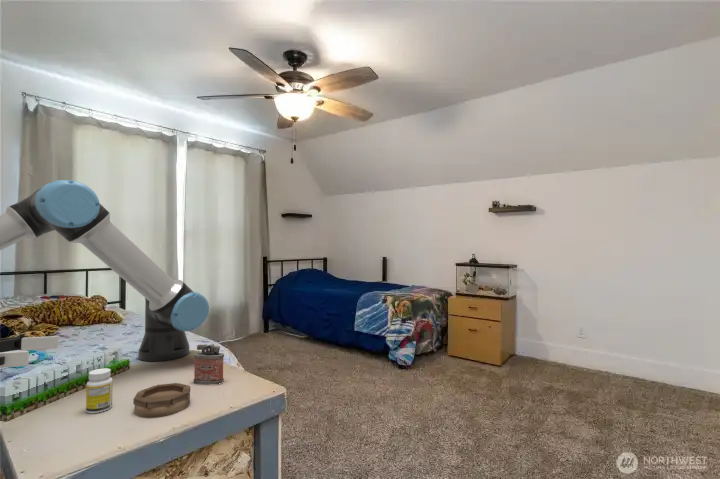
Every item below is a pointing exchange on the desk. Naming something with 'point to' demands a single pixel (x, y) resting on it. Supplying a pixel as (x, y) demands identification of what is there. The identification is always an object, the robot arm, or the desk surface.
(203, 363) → the lighter
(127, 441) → the desk surface
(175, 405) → the coaster stand
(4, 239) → the robot arm
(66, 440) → the desk surface
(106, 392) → the supplement bottle
